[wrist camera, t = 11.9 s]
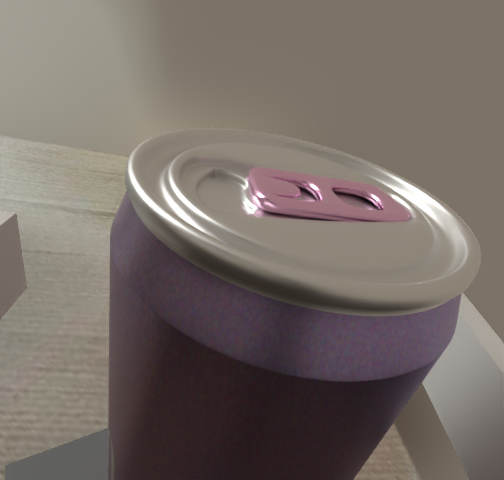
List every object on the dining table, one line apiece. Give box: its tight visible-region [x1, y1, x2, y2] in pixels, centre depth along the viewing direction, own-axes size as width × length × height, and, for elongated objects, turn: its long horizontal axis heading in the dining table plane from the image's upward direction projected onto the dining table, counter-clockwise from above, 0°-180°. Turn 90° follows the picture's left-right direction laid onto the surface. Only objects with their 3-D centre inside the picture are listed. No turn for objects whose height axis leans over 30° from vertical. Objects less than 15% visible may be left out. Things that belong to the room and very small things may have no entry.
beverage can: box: [108, 128, 481, 480], centre depth 10 cm, size 6×6×15 cm
